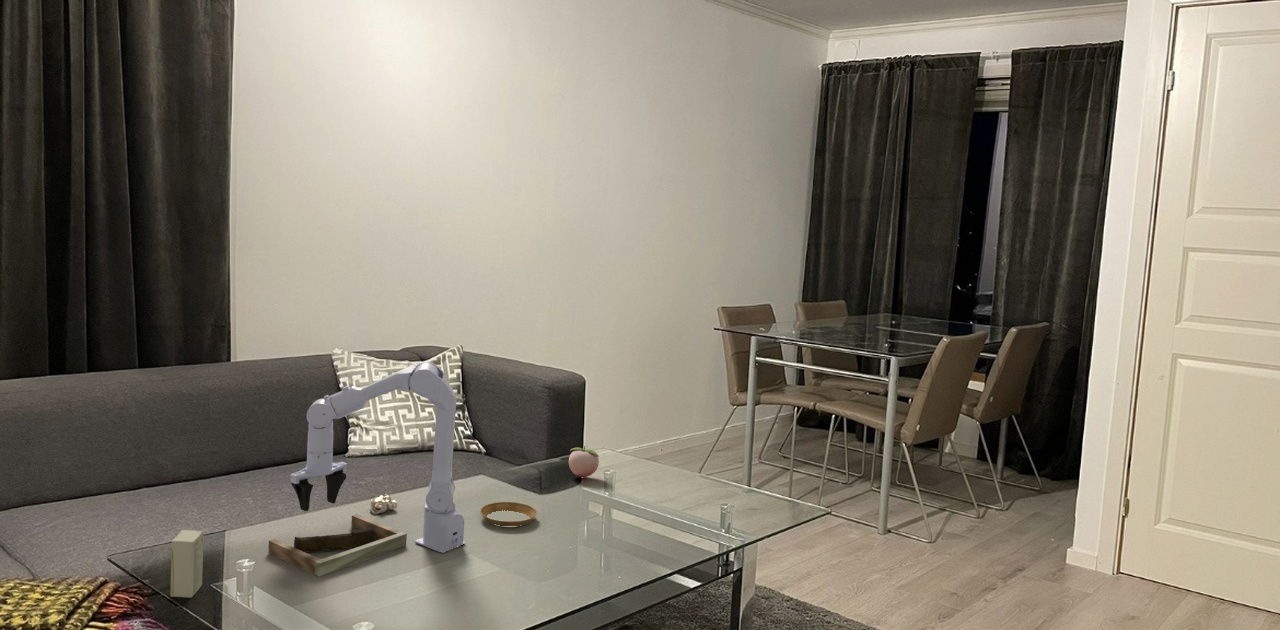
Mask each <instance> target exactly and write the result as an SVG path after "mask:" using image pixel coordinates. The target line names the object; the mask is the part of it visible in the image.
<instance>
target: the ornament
mask: <svg viewBox="0 0 1280 630" xmlns="http://www.w3.org/2000/svg"><path fill="white" fill-rule="evenodd" d="M384 495H385V496H384ZM384 495H379V497H378V496H377V497H374V498H372V499H371V500H370V510H371V512H372V514H374V515H379V514H383V513H385V512H386V511H387V510H389V511H390V510H391V509H392V510H393V509H397V508H398V507H397V506H398V502H397V501H396V500H393V499H392V497H391V495H389V493H385V494H384Z"/></svg>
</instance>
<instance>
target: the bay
mask: <svg viewBox="0 0 1280 630" xmlns="http://www.w3.org/2000/svg"><path fill="white" fill-rule="evenodd" d="M351 528H352V529H354V530H356V529H367V528H370V529H373V530H374V531H375V532H376V533H377V536H378V538H379V540H377V541H374V542H372V543H369V544H366V545H363V546H360V547H357V548H354V549H352V548H350V549H348V550H345V551H341V552H338V553H335V554H334V555H330V556H328V557H324V558H322V559H320V558H318V557H316V556H314V555H312V554H309V553H308V552H303V551H301V550H298V549H296V548H294V546H291V545H289V544H288V543H284V542H283V541H280V540H278V539H276V538H272V539H270V540H268V554H269V555H271V556H274V557H275V558H278V559H280V560H282V561H284V562H287V563H289V564H291V565H293V566H295V567H297V568H300V569H302V570H304V571H307V572H309V573H311V574H313V575H315V576H318V577H321V576H325V575H328V574H331V573H333V572H335V571H339V570H343V569H344V568H348V567H351V566H353V565H356V564H359V563H361V562H364V561H367V560H369V559H372V558H373V559H374V558H375V557H379V556H381V555H384V554H386V553H390V552H393V551H395V550H398V549H401V548H404V547H407V539H408V538H407V536H408V533H405V532H404V531H401V530H399V529H396V528H393V527H390V526H388V525H385V524H383V523H380V522H378V521H375V520H373V519H371V518H368V517H365V516H362V515H360V514H357V513H356V514H352V515H351Z"/></svg>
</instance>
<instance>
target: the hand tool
mask: <svg viewBox="0 0 1280 630" xmlns="http://www.w3.org/2000/svg"><path fill="white" fill-rule="evenodd" d="M377 540H380V539H379V538H378V536H377V533H376V532H375V531H374V530H373V529H370V528H367V529H352V530H351V532H349V533H339V534H328V535H321V536H320V535H315V536H306V537H304V536H303V537H300V536H294V539H293V541H294V542H293V547H294V548H296V549H298V550H301V551H303V552H305V553H308V552H319V551H330V550H338V549H354V548H357V547H360V546H363V545H366V544H369V543H372V542H374V541H377Z"/></svg>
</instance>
